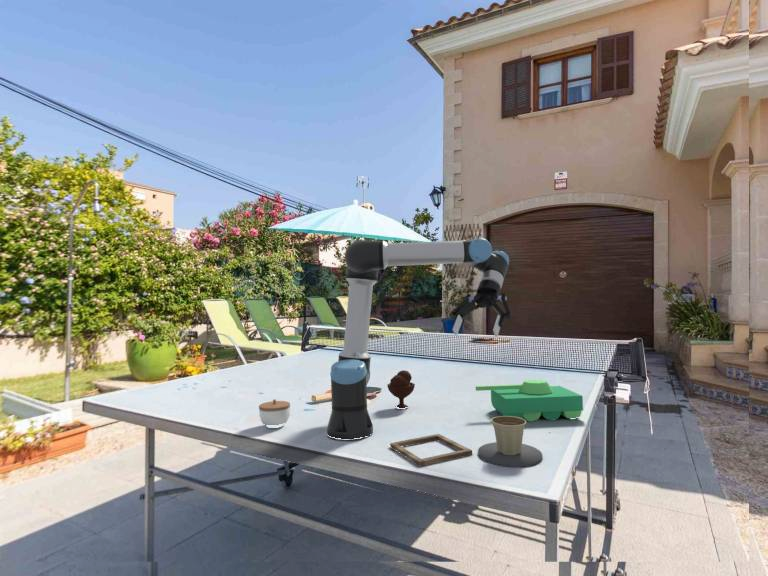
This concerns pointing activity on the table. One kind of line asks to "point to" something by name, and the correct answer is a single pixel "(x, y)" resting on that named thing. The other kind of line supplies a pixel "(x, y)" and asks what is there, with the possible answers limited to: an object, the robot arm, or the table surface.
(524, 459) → the rubber mat
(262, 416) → the lidded jar
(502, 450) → the flower pot
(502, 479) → the table surface
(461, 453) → the walnut frame
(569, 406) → the toy tank
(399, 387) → the ice cream bowl
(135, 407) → the table surface
